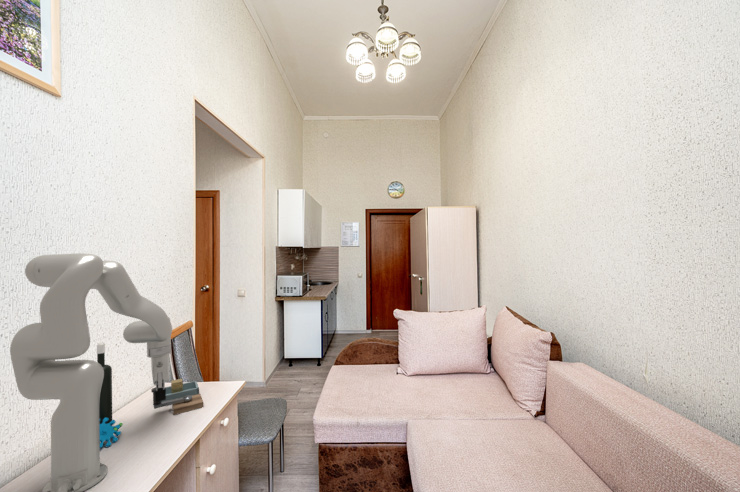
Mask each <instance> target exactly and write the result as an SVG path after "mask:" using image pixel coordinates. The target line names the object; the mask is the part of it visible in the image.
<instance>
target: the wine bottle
mask: <svg viewBox="0 0 740 492" xmlns="http://www.w3.org/2000/svg"><path fill="white" fill-rule="evenodd" d="M105 353H106V344H105V342H99V343H98V342H97V343H96V354H97V355H96V357H97V358H96V359H97V360H96V362H98V363H99V364H100V365H101V366H102V367H103V370H104V378H103V382H102V387H101V392H100V402H99V419H100V421H99V424H102V422H103V419H104V418H105V417H106V418H108V419H109V420H108V421H107V422H105V424H108V423H110V422H111V421H112V420H113V382H112V381H113V370H112V369H113V368H112V366H111V365H109V364H106V363H105V361H106V360H105V359H106V358H105ZM110 426H113V425H110Z"/></svg>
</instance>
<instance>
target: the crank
mask: <svg viewBox="0 0 740 492" xmlns="http://www.w3.org/2000/svg"><path fill="white" fill-rule="evenodd" d="M155 390H156V386H155V387H153V388H151V393H152V405H153V409H160V408H163V407H168V406H172V405H173V404H177V403H182V402H188V401H191V400H192V396H191V395H188V396H185V397H182V398H177V399H173V400H168V401H164V402H161V401H158V402H156V401H155Z"/></svg>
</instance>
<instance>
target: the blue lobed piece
mask: <svg viewBox="0 0 740 492" xmlns="http://www.w3.org/2000/svg"><path fill="white" fill-rule="evenodd" d="M108 420H109V419H108V418H106V417H105V418H104V419H103V422H102V424H99V433H100V449H101V448H103V447H104V446H105V448H109V447H111V446H112V443H116V442H117V441H118V440H119V438H118V437H119V436H120V435H121V433H122V431H120V430H119V429H120V428H121V427H122V426H123V425H124V424H123V422H119V423H118V424H116V420H115V419H112V421H111V422H110V423H108V424H105V422H107V421H108ZM99 421H100V419H99ZM115 424H116V425H115ZM110 425H112V426H110ZM111 439H112V440H111ZM105 442H106V444H105V445H104V443H105Z"/></svg>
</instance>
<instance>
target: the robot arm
mask: <svg viewBox="0 0 740 492" xmlns="http://www.w3.org/2000/svg"><path fill="white" fill-rule="evenodd" d="M24 274H25V276H26V279H27V280H28V281H29V282H30V283H31V284H33V285H35V286H38V287H42V288H48V289H47V291H46V292H45V293H44V295H43V296H42V299H41V300H40V304H39V315H40V322H35V323H31V324H27V325H24V326H23V327H22V328H20V329H19V330H18V331H16V333H15V334H14V336H13V338H12V340H11V342H10V347H9V353H10V360H11V364H12V369H13V374H14V377H15V382H16V387H17V390H18V392H19V394H20V395H21V396H22V397H23V398H25V399H27V400H33V401H43V400H44V401H45V400H46V401H47V400H48V401H49V400H59V404H58V405H57V407H56V408H55V410H54V412H53V414H52V416H51V418H50V419H51V420H50V480H49V481H48V482H47V483H46V484H45V485H44V486H43V489H42V492H84V491H86V490H89V489H90V488H92V487H94V486H95V485H97V484H99V482H100V481H102V480H103V479H104V478H105V477H106V475H107V473H108V466H107V464H105V463H102V462H101V461H100V460H101V458H100V457H101V456H100V455H101V450H100V449H101V448H100V443H101V442H100V433H99V402H100V392H101V387H102V382H103V378H104V370H103V367H102V366H101V365H100V364H99V363H98V362H97V360H96V361H95V360H93V359H92V360H91V359H74V358H77V357H81V356H83V355H84V354H85V353H87V351H88V350H89V348H90V345H91V334H90V328H89V322H88V316H87V312H86V311H87V309H86V300H87V296H88V294H89V292H90V290H96V291H98V292H99V294H100V296H101V297H102V298H103V300H104V302H105V303H106V304H107V306H108V308H109V309H110V310H111V311H112V312H113V313H116V314H118V315H121V316H122V315H123V316H126V317H128V318H129V317H130V318H133V319H138V320H137V321H133V322H131V323H129V324H128V325H126V326H125V328H124V330H123V334H122V337H123V339H124V340H125V341H126V342H127V343H131V344H146V354H147V355H146V356H147V358H150V365H151V375H152V384H153V385H155V387H156V390H155V401H156V402H158V401H162V400H165V399H166V388H165V387H166V386H165V383H168V382H170V368H169V367H170V365H169V364H170V363H169V362H170V361H169V355H170V354H171V353H172V339H171V337H172V333H173V326H172V323H171V318H170V317H169V316H168V315H167V313H166V311H165V310H164V309H163V308H162V307H161V306H160V305H158V304H157V303H154V302H153V301H152V300H150V299H148V298H146V297H144V296H142V295H141V294H140V293H139V291H138V289H137V288H136V286H135V284H134V282H133V280H132V279H131V277H130V275H129V274H128V272H127V271H126V269H125V267H124V266H123V264H121V263H120V262H117V261H114V260H103V259H102V258H101V257H100V256H98V255H96V254H92V253H61V254H60V253H59V254H44V255H43V254H42V255H37V256H35V257H34V258H32V259H30V260H29V261H28V263H27V264H26V265H25V268H24Z"/></svg>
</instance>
